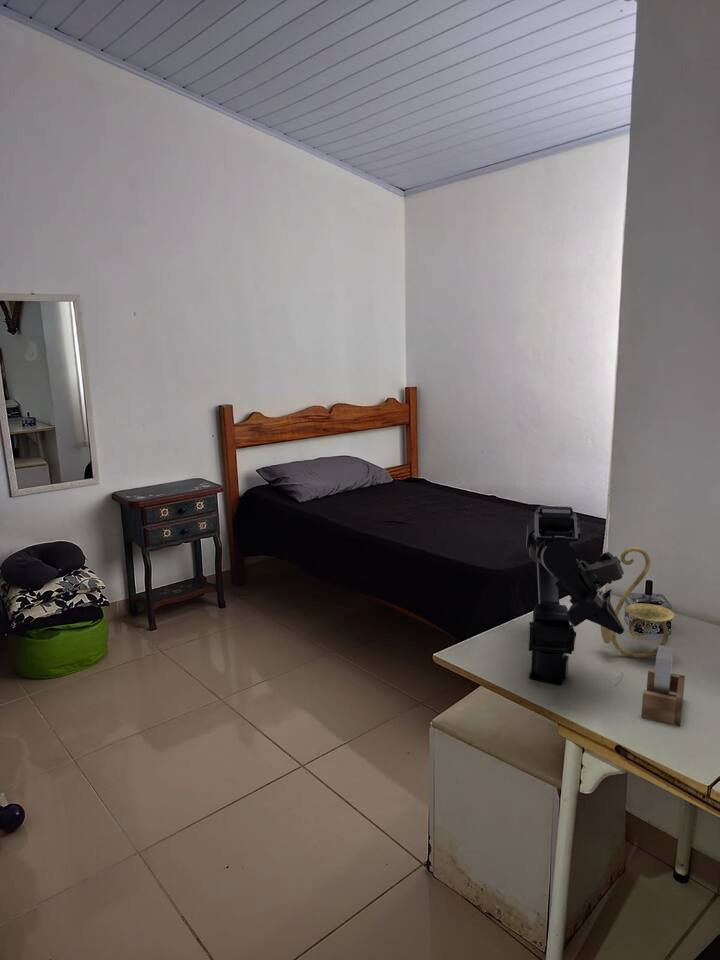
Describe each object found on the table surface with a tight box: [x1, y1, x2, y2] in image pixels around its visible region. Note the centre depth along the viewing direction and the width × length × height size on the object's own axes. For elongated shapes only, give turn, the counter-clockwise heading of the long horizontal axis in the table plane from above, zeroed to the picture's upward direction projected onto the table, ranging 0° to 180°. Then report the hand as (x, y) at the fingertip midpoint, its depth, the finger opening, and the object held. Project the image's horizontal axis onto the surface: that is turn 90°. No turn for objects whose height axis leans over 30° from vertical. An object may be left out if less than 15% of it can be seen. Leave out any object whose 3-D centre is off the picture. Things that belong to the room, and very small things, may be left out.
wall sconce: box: [599, 546, 675, 659], centre depth 137 cm, size 14×10×25 cm
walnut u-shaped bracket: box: [640, 668, 686, 728], centre depth 118 cm, size 6×10×5 cm, turn 151°
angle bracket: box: [653, 644, 677, 697], centre depth 118 cm, size 5×6×11 cm
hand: (622, 632), depth 120 cm, fingers closed
